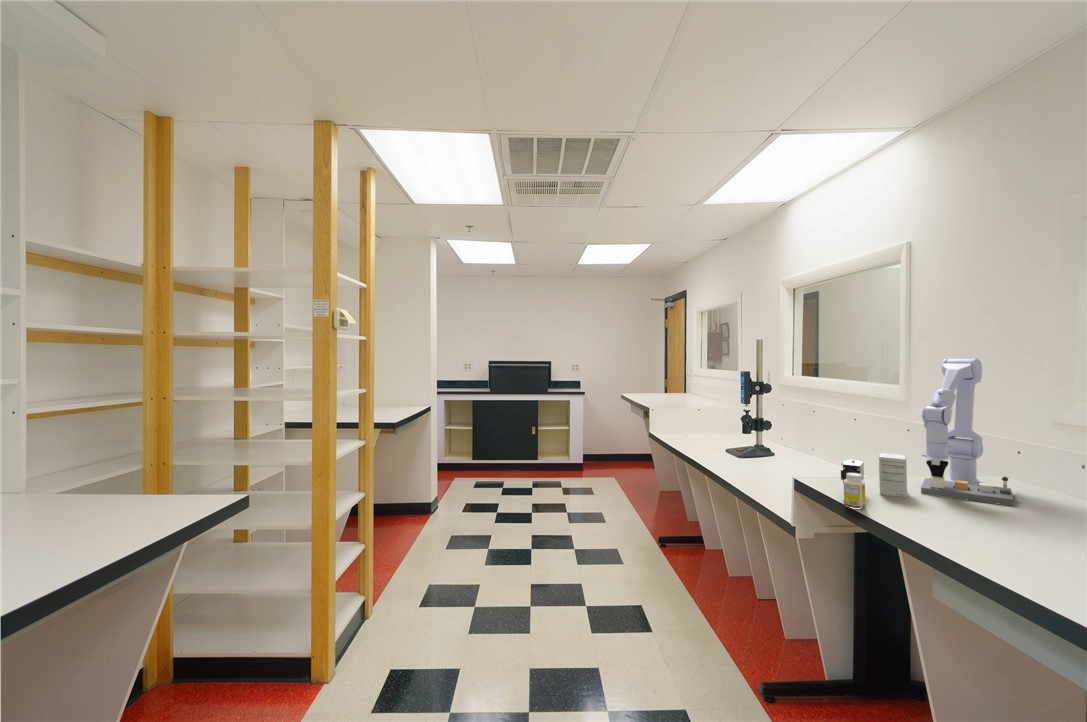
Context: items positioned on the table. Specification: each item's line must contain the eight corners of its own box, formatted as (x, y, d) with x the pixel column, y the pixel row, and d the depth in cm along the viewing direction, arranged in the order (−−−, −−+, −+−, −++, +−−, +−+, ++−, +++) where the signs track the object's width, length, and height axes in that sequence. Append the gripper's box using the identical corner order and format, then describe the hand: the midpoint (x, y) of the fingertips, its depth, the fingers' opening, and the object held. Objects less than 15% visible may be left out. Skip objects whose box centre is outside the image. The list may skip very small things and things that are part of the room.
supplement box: (880, 489, 169) (880, 452, 168) (907, 492, 164) (906, 455, 164) (878, 494, 163) (878, 456, 163) (906, 498, 158) (906, 459, 158)
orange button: (955, 487, 163) (955, 480, 163) (968, 489, 161) (967, 481, 161) (954, 489, 161) (954, 482, 161) (967, 491, 159) (967, 483, 159)
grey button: (979, 490, 159) (979, 482, 159) (992, 492, 157) (992, 484, 157) (979, 492, 157) (979, 484, 157) (992, 494, 155) (992, 486, 155)
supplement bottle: (858, 504, 153) (857, 471, 153) (869, 510, 147) (869, 476, 147) (840, 504, 153) (839, 472, 153) (851, 510, 148) (850, 476, 147)
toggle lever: (1001, 487, 155) (1001, 476, 156) (1008, 488, 154) (1008, 477, 155) (1002, 486, 154) (1001, 475, 155) (1008, 487, 153) (1008, 476, 154)
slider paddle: (930, 484, 164) (930, 475, 164) (944, 486, 162) (944, 477, 162) (929, 486, 162) (929, 477, 162) (943, 488, 160) (943, 479, 160)
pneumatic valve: (864, 492, 165) (864, 457, 165) (859, 501, 156) (858, 463, 156) (845, 489, 169) (845, 455, 169) (839, 498, 160) (839, 461, 160)
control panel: (925, 483, 174) (925, 475, 174) (1011, 494, 159) (1010, 485, 159) (921, 493, 162) (921, 484, 162) (1013, 506, 148) (1012, 496, 148)
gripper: (923, 437, 172) (924, 476, 172) (919, 444, 161) (920, 485, 161) (950, 439, 167) (950, 479, 167) (947, 446, 156) (948, 488, 157)
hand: (937, 482), depth 164 cm, fingers closed
